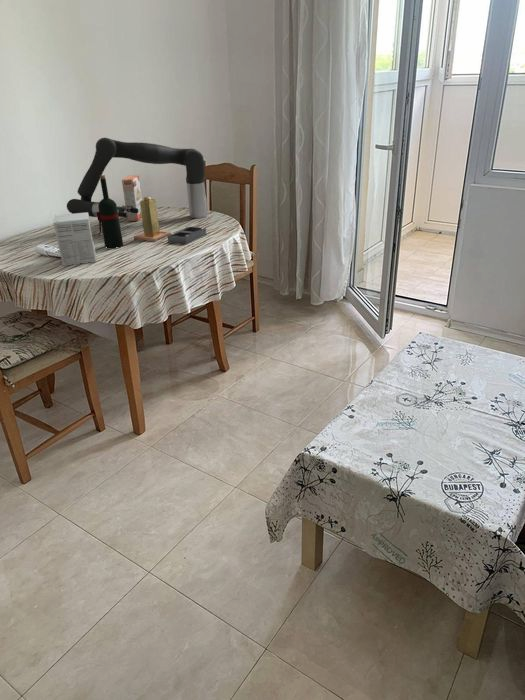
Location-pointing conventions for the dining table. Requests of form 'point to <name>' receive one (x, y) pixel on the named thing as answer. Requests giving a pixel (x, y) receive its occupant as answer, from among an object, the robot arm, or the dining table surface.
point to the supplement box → (75, 238)
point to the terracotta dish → (156, 238)
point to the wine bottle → (109, 219)
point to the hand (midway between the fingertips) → (132, 212)
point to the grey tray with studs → (186, 235)
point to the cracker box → (132, 196)
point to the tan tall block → (149, 217)
